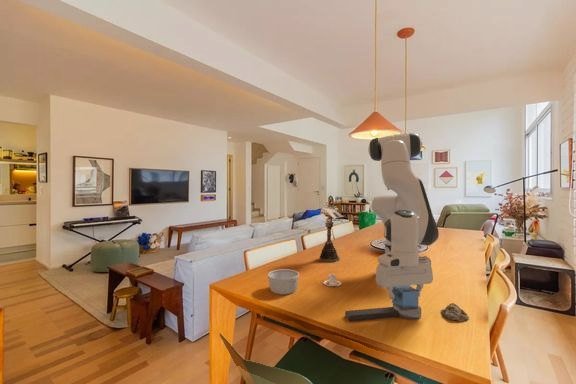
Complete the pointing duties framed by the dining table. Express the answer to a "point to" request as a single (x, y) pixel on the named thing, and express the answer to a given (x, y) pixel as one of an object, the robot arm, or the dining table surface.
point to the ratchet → (383, 313)
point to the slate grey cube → (405, 297)
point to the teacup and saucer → (332, 280)
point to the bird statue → (328, 249)
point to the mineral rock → (454, 313)
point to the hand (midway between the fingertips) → (404, 297)
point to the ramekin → (283, 281)
